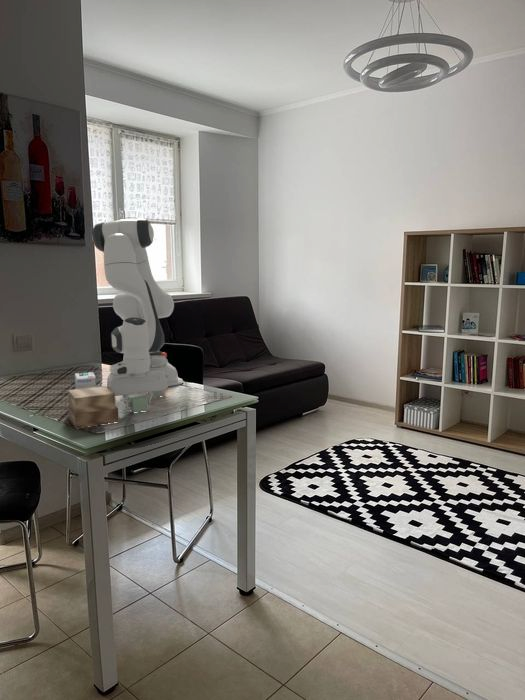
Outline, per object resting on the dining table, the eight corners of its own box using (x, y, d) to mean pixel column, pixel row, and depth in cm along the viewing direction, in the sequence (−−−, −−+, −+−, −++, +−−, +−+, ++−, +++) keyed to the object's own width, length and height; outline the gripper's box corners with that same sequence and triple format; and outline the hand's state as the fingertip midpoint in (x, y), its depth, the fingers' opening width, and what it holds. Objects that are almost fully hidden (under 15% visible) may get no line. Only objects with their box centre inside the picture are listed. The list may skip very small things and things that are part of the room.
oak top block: (106, 400, 174) (105, 385, 173) (115, 408, 163) (114, 393, 163) (68, 405, 168) (68, 390, 167) (76, 414, 158) (75, 398, 157)
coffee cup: (147, 392, 204) (145, 355, 201) (171, 392, 203) (170, 355, 201) (140, 398, 194) (139, 359, 192) (166, 398, 194) (164, 359, 192)
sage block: (143, 408, 181) (143, 394, 180) (148, 411, 177) (147, 397, 176) (129, 410, 179) (129, 396, 178) (133, 413, 174) (132, 399, 173)
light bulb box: (75, 401, 190) (73, 373, 188) (94, 399, 193) (93, 371, 191) (77, 409, 180) (75, 378, 178) (97, 407, 183) (96, 377, 181)
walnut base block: (109, 414, 175) (108, 399, 174) (118, 424, 164) (118, 409, 163) (69, 419, 169) (68, 404, 168) (76, 430, 158) (75, 414, 157)
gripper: (163, 361, 183) (164, 399, 185) (104, 367, 173) (106, 407, 175) (169, 364, 177) (170, 403, 180) (109, 370, 168) (111, 411, 170)
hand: (138, 405), depth 177 cm, fingers closed on sage block, 5 cm apart
